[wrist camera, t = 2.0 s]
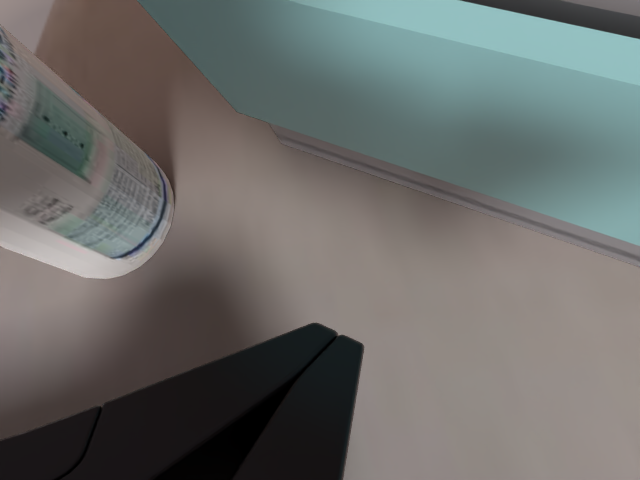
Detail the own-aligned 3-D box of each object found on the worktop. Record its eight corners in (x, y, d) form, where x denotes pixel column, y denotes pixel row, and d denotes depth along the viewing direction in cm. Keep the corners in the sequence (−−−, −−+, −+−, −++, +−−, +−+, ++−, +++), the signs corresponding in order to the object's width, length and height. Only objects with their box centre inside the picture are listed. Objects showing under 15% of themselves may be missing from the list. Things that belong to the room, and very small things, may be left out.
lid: (816, 274, 14) (807, 301, 14) (245, 93, 20) (236, 111, 20) (1225, 164, 7) (1210, 223, 7) (110, -75, 13) (95, -46, 13)
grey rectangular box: (734, 299, 18) (808, 270, 14) (281, 143, 24) (250, 93, 20) (795, 102, 20) (876, 29, 16) (355, 0, 25) (339, -70, 22)
